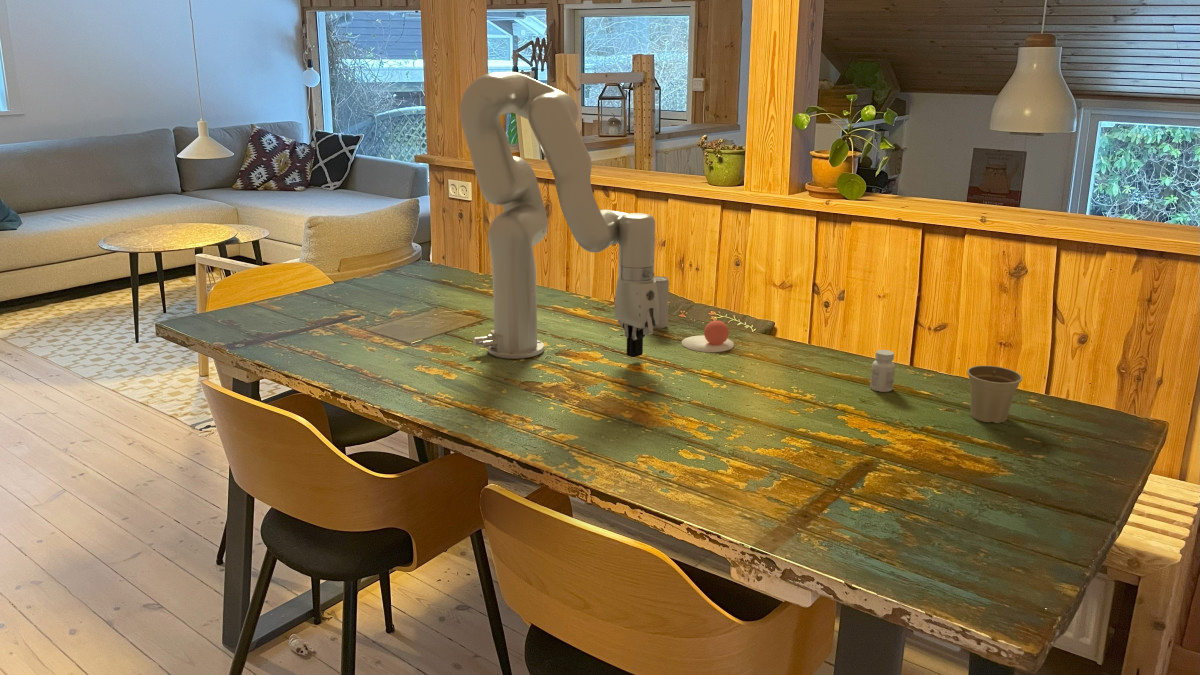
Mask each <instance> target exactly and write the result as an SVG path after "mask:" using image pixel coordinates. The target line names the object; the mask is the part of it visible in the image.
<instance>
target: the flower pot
mask: <svg viewBox="0 0 1200 675" xmlns="http://www.w3.org/2000/svg"><path fill="white" fill-rule="evenodd" d="M966 374H967V376H968V381H969V384H970V387H969V388H970V414H971V417H972V418H973V419H975V420H977V421H980V422H982V421H983V423H986V422H988V423H994V424H1002V423H1004V422H1006V421H1007V419H1008V415H1009V412H1010V409H1011V406H1012V402H1013V399H1014V396H1015V393H1016V390H1017V389H1018V387H1019V386H1020V383H1022V381H1023V380H1024V379H1023V374H1020V373H1019V372H1018V371H1015V370H1013V369H1010V368H1006V367H1003V366H1002V367H1001V366H997V365H996V366H995V365H974V366H972V367H971V366H970V367H969V368H968V369H967V371H966ZM1001 422H1002V423H1001Z"/></svg>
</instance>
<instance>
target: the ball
mask: <svg viewBox="0 0 1200 675" xmlns="http://www.w3.org/2000/svg"><path fill="white" fill-rule="evenodd" d="M729 334H730V331H729V328H728V326H727V324H726V323H725V322H723V321H721V320H712V321H709V322H708V323H707V324H706V326H705V327H704V332H703V335H704V336H705V338H706V340H707V341H708V342H709V343H711V344H713V345H720V344H722V343H724V342H725V341H726V340H727V339H729Z"/></svg>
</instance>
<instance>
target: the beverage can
mask: <svg viewBox="0 0 1200 675" xmlns="http://www.w3.org/2000/svg"><path fill="white" fill-rule="evenodd" d="M654 281H656V285H657V291H658V302H659V323H658V325H656V326H653V325H652V326H653V329H655V328H656V329H658V330H659V329H660V330H661V328H662V329H665V328H666V327H667V326H668V323H669V322H668V319H669V316H668V315H669V290H670V288H669V286H670V281H669V278H668V277H666V276H659V275H658V276H654Z"/></svg>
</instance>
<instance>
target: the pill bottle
mask: <svg viewBox="0 0 1200 675" xmlns="http://www.w3.org/2000/svg"><path fill="white" fill-rule="evenodd" d="M894 359H895V353H894V352H893V351H892V350H887V349H879V350H876V351H875V360H874V361H873V362H872V364H871V375H870V384H869V387H870V388H871V389H872V390H873V391H875V392H878V391H879V392H880V393H888V392H889V393H890V392H891V391H893V389H894V380H895V370H896V365H895V363H894V362H893V361H894Z"/></svg>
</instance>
